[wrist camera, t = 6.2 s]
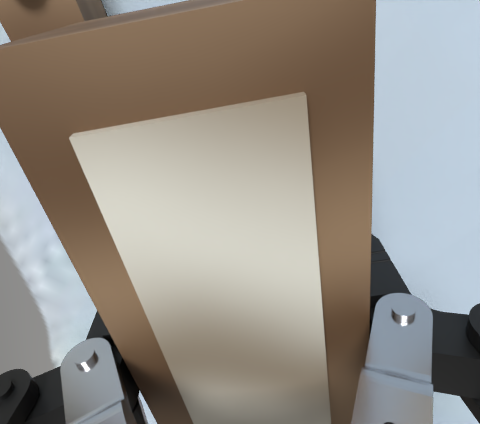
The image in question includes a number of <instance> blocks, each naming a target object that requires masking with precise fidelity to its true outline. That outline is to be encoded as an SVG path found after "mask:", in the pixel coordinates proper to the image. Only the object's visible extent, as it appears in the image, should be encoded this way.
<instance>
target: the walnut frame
mask: <svg viewBox="0 0 480 424" xmlns="http://www.w3.org/2000/svg"><path fill="white" fill-rule="evenodd" d="M375 21H376V0H189V1H184V2H179V3H174V4H169V5H164V6H159V7H154V8H149V9H144V10H139V11H134V12H129V13H124V14H119V15H114V16H109V17H104V18H99V19H94V20H89V21H84V22H79V23H75V24H71V25H68V26H65V27H61V28H58V29H54V30H51V31H47V32H44V33H40V34H37V35H33V36H30V37H27V38H23V39H20V40H16V41H13V42H9V43H6V44H2V45H0V128H1V130H2V132H3V134H4V135H5V137H6V139H7V141H8V143H9V145H10V147H11V149H12V150H13V152H14V154H15V156H16V158H17V160H18V162H19V164H20V166H21V167H22V169H23V171H24V173H25V175H26V177H27V179H28V181H29V182H30V184H31V186H32V188H33V190H34V192H35V194H36V196H37V198H38V199H39V201H40V203H41V205H42V207H43V209H44V211H45V213H46V215H47V216H48V218H49V220H50V222H51V224H52V226H53V228H54V230H55V231H56V233H57V235H58V237H59V239H60V241H61V243H62V245H63V247H64V248H65V250H66V252H67V254H68V256H69V258H70V260H71V262H72V264H73V265H74V267H75V269H76V271H77V273H78V275H79V277H80V279H81V280H82V282H83V284H84V286H85V288H86V290H87V292H88V294H89V296H90V297H91V299H92V301H93V303H94V305H95V307H96V309H97V311H98V312H99V314H100V316H101V318H102V320H103V322H104V324H105V326H106V328H107V329H108V331H109V333H110V335H111V337H112V339H113V341H114V343H115V345H116V346H117V348H118V350H119V352H120V354H121V356H122V358H123V360H124V361H125V363H126V365H127V367H128V369H129V371H130V373H131V375H132V377H133V378H134V380H135V382H136V384H137V386H138V388H139V390H140V392H141V394H142V395H143V397H144V399H145V401H146V403H147V405H148V407H149V409H150V410H151V412H152V414H153V416H154V418H155V420H156V422H157V424H351V421H352V415H353V410H354V405H355V399H356V394H357V389H358V383H359V378H360V373H361V369H362V367H363V366H365V361H366V356H367V350H368V345H369V325H370V274H371V224H372V173H373V123H374V72H375Z"/></svg>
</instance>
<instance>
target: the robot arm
mask: <svg viewBox="0 0 480 424" xmlns="http://www.w3.org/2000/svg"><path fill="white" fill-rule="evenodd" d="M433 391H434V392H440V393H446V394H451V395H457V396H460V397H461V399H462V400H463V401H464V403H465V404H466V406H467V407H468V408H469V410H470V411H471V412H472V414H473V415H474V417H475V418H476V419H477V421H478V422H479V423H480V304H477V305H475V306H474V307H473V308H472V309H471V311H470V313H469V315H466V314H456V313H447V312H440V311H437V310H433V309H431V308H430V307H429V306H428V305H427V304H426V303H425V302H424V301H423V300H421V299H420V298H418V297H416V296H413V295H411V293H410V292H409V290H408V288H407V286H406V285H405V283H404V281H403V280H402V278H401V276H400V275H399V273H398V271H397V269H396V268H395V266H394V264H393V263H392V261H391V260H390V257H389V256H388V254H387V252H385V249H384V247H383V246H382V244H381V242H380V240H379V239H378V238H376V237H375V236H373V235H372V234H371V274H370V325H369V345H368V350H367V356H366V361H365V366H363V367H362V369H361V373H360V378H359V383H358V389H357V394H356V399H355V405H354V410H353V415H352V421H351V424H433ZM138 395H139V388H138V386H137V384H136V382H135V380H134V378H133V377H132V375H131V373H130V371H129V369H128V367H127V365H126V363H125V361H124V360H123V358H122V356H121V354H120V352H119V350H118V348H117V346H116V345H115V343H114V341H113V339H112V337H111V335H110V333H109V331H108V329H107V328H106V326H105V324H104V322H103V320H102V318H101V316H100V314H99V312H98V311H97V313H96V315H95V318H94V320H93V323H92V326H91V328H90V331H89V333H88V336H87V338H86V340H85V341H83V342H81V343H79V344H78V345H76V346H75V347H73V348H72V349H71V350H70V351H69V352H68V353H67V355H66V356H65V358H64V359H63V361H62V364H61V366H60V367H57V368H55V369H53V370H51V371H48V372H46V373H43V374H41V375H39V376H36V377H34V378H32V377H31V376H30V375H29V373H28V372H27V371H25V370H23V369H14V370H10V371H7V372H5V373H3V374H1V375H0V424H148V422H147V419H146V415H145V412H144V409H143V406H142V402H141V400H140V398H139V396H138Z"/></svg>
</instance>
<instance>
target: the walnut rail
mask: <svg viewBox="0 0 480 424" xmlns="http://www.w3.org/2000/svg"><path fill="white" fill-rule="evenodd" d="M104 17H107V14H106V12H105V9H104V7H103V4H102V2H101V0H0V22H1V24H2V26H3V28H4V29H5V31H6V33H7V35H8V37H9V39H10V40H11V42H13V41H16V40H20V39H23V38H27V37H30V36H33V35H37V34H40V33H44V32H47V31H51V30H54V29H58V28H61V27H65V26H68V25H71V24H75V23H79V22H84V21H89V20H94V19H99V18H104Z"/></svg>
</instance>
